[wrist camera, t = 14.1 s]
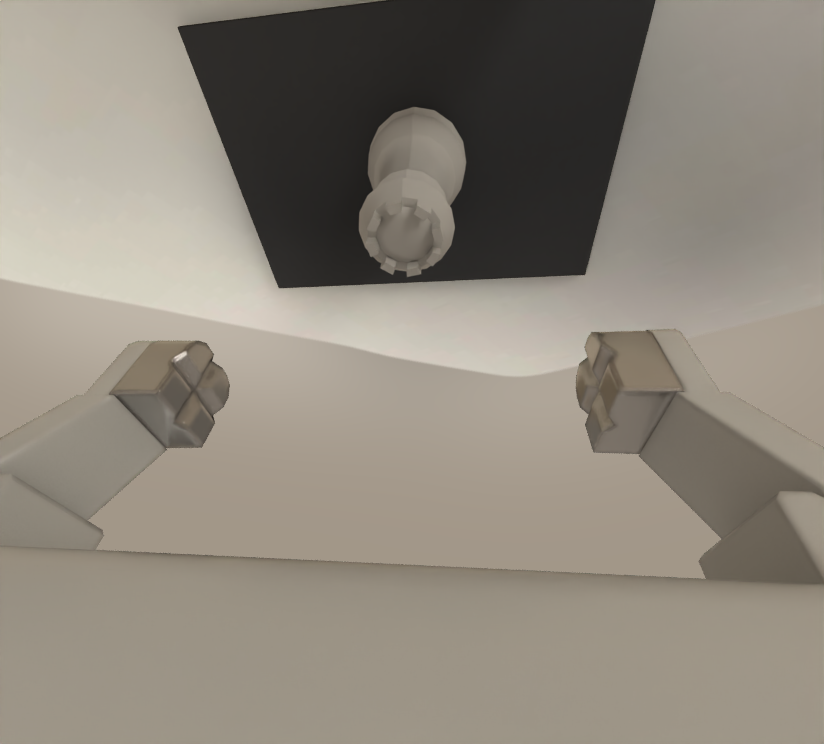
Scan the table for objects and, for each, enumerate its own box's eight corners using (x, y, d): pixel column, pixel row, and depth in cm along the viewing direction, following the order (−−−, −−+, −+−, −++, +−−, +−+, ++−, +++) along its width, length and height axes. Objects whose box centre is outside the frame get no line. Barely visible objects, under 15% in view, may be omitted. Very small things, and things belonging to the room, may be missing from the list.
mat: (659, -34, 14) (664, -35, 13) (583, 270, 22) (585, 275, 22) (182, 25, 15) (176, 26, 15) (281, 284, 24) (278, 288, 24)
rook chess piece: (363, 107, 17) (320, 171, 11) (467, 100, 16) (478, 163, 11) (376, 211, 20) (348, 301, 14) (464, 207, 19) (471, 299, 14)
